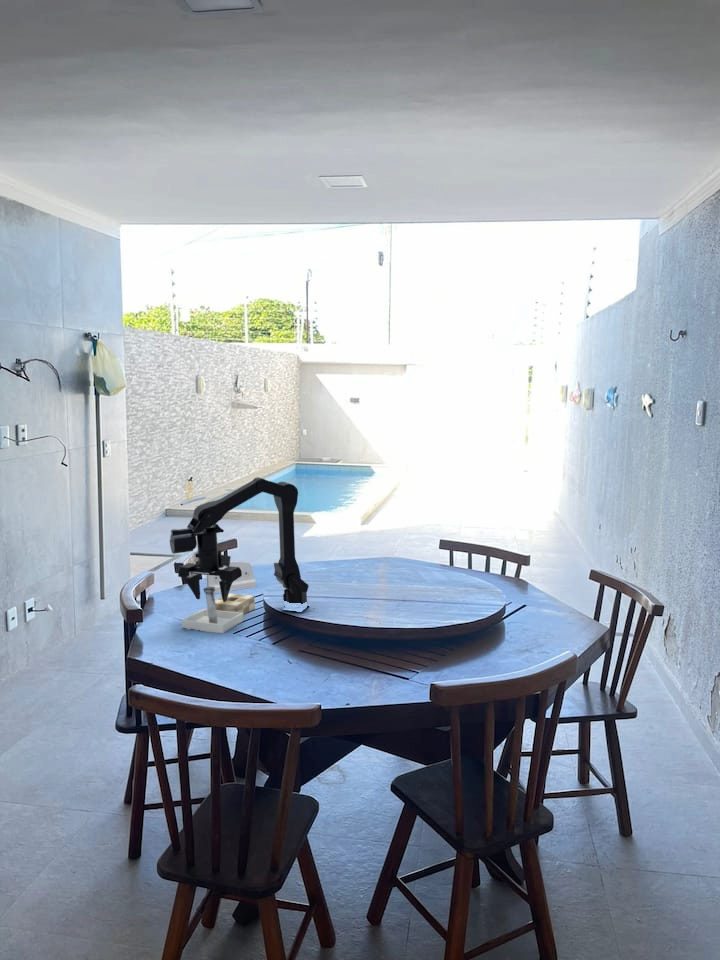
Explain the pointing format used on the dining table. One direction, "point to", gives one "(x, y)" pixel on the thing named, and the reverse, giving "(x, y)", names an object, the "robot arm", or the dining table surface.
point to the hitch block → (236, 603)
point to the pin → (211, 604)
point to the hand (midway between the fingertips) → (211, 600)
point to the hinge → (241, 583)
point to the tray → (223, 624)
